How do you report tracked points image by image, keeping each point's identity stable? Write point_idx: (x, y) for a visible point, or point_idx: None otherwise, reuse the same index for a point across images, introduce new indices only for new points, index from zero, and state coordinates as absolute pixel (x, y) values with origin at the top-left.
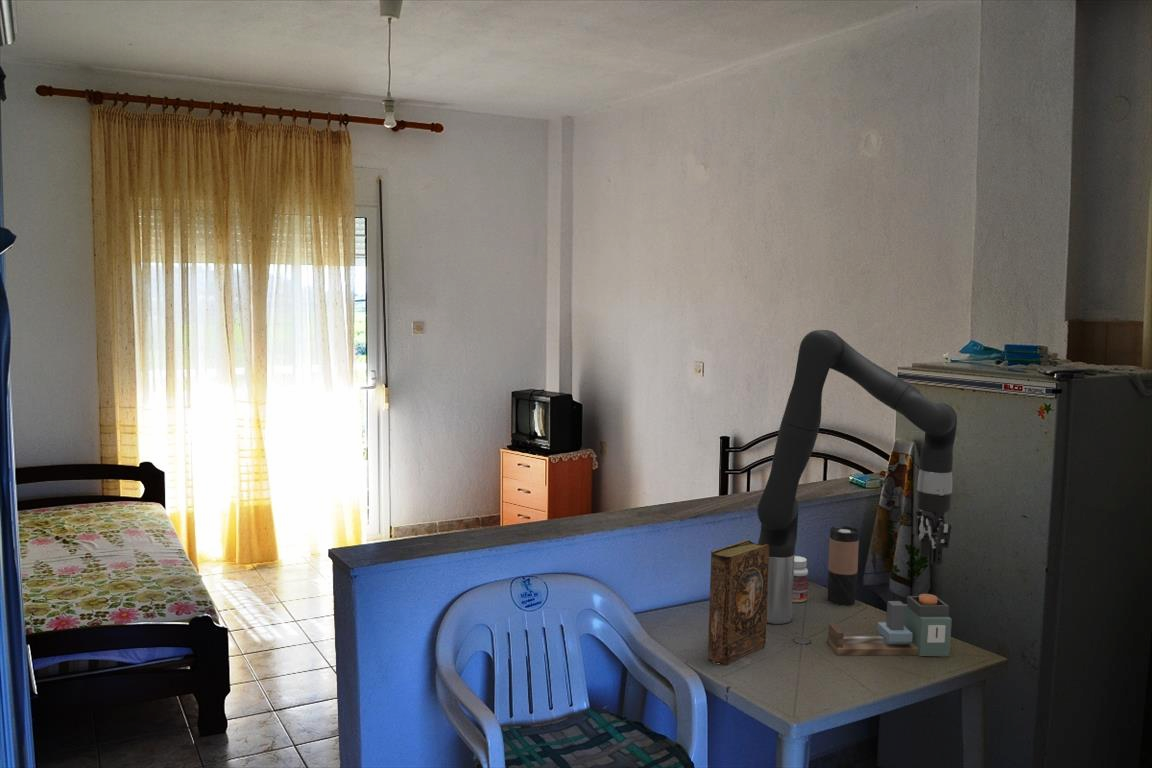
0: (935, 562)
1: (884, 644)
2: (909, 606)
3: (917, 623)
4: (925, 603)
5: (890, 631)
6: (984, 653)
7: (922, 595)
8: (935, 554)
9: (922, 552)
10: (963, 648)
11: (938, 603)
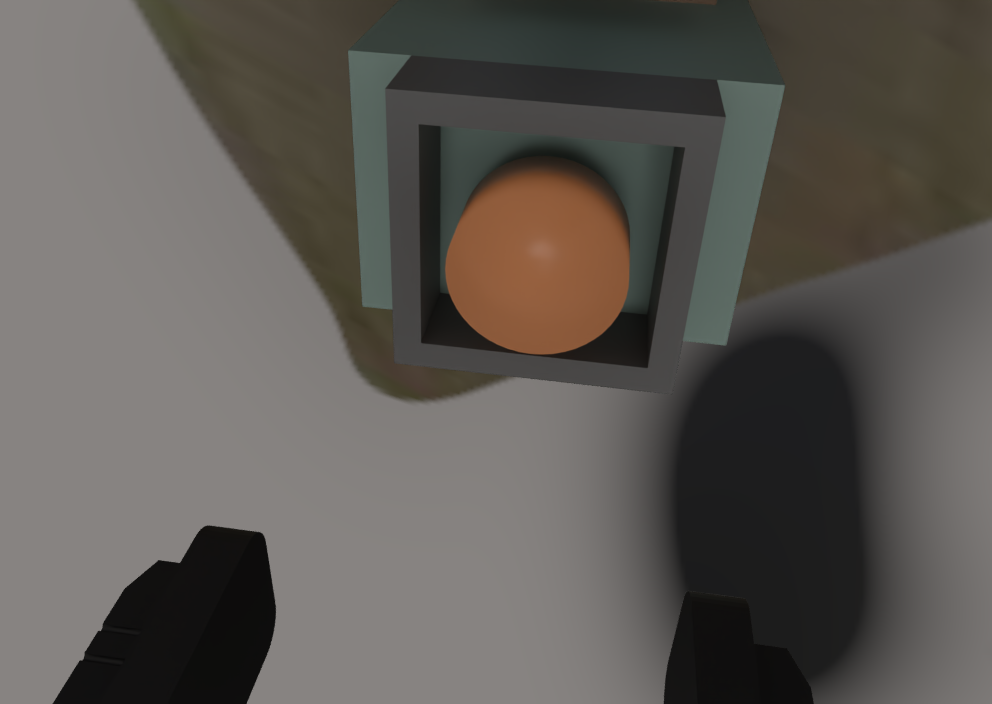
0: (157, 565)
1: None
2: (649, 81)
3: (455, 36)
4: (475, 194)
5: None
6: (466, 387)
7: (576, 238)
8: (88, 691)
9: (691, 657)
10: None
11: None
